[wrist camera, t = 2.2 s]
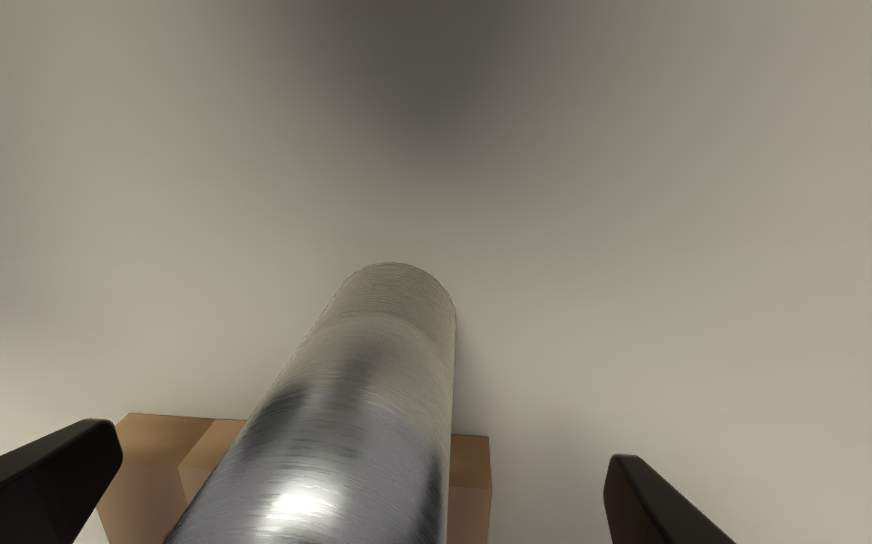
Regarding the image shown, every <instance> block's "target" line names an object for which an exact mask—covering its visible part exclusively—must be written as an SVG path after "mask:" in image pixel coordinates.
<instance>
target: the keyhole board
mask: <svg viewBox="0 0 872 544" xmlns="http://www.w3.org/2000/svg"><path fill="white" fill-rule="evenodd" d="M246 422H247V421H239V420H224V419H209V418H193V417H178V416H163V415H148V414H133V413H129V414H128V415H127V416H126V417H125V418H124V419H122V420H121V421H120V422H119V423H118V424H117V425H116V426H115V429H116V432H117V435H118V438H119V441H120V444H121V447H122V451H123V462H122V465H121V467H120V469H119V471H118V472H117V474H116V475H115V477H114V479H113V480H112V482H111V483H110V485H109V486H108V488H107V490H106V491H105V493H104V494H103V496H102V498H101V499H100V501H99V502H98V504H97V506H96V508H97V511H98V514H99V516H100V519H101V522H102V524H103V527H104V530H105V532H106V535H107V538H108V540H109V543H110V544H162V543H163V541H164V540H165V538H166V537H167V536H168V534H169V533H170V531H171V530H172V528H173V527H174V525H175V524H176V523H177V521H178V520H179V518H180V517H181V515H182V514H183V513H184V511H185V510H186V508H187V507H188V505H189V504H190V503H191V501H192V500H193V498H194V497H195V495H196V494H197V493H198V491H199V490H200V488H201V487H202V485H203V484H204V483H205V481H206V480H207V478H208V477H209V475H210V474H211V472H212V471H213V470H214V468H215V467H216V465H217V464H218V462H219V461H220V460H221V458H222V457H223V455H224V454H225V452H226V451H227V450H228V448H229V447H230V445H231V444H232V442H233V441H234V440H235V438H236V437H237V435H238V434H239V432H240V431H241V430H242V428H243V427H244V425H245V424H246ZM491 495H492V482H491V468H490V453H489V438H488V437H482V436H467V435H451V445H450V467H449V489H448V511H447V533H446V544H487V536H488V526H489V516H490V505H491Z"/></svg>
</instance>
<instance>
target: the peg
mask: <svg viewBox="0 0 872 544" xmlns="http://www.w3.org/2000/svg"><path fill="white" fill-rule="evenodd" d="M455 335H456V315H455V309H454V306H453V303H452V301H451V299H450V297H449V295H448V293H447V292H446V290H445V289H444V288H443V287H442V285H441V284H440V283H439V282H438V281H437V280H436V279H434V278H433V277H432V276H430V275H429V274H427V273H426V272H424V271H422V270H420V269H418V268H416V267H413V266H410V265H406V264H402V263H379V264H374V265H371V266H368V267H365V268H363V269H361V270H359V271H357V272H356V273H354V274H353V275H352V276H350V277H349V278H348V279H347V280H346V281H345V282H344V283H343V285H342V286H341V288H340V289H339V291H338V292H337V293H336V295H335V296H334V298H333V299H332V301H331V302H330V303H329V305H328V306H327V308H326V309H325V311H324V312H323V313H322V315H321V316H320V318H319V319H318V321H317V322H316V324H315V325H314V326H313V328H312V329H311V331H310V332H309V334H308V335H307V336H306V338H305V339H304V341H303V342H302V344H301V345H300V346H299V348H298V349H297V351H296V352H295V354H294V355H293V356H292V358H291V359H290V361H289V362H288V364H287V365H286V366H285V368H284V369H283V371H282V372H281V374H280V375H279V377H278V378H277V379H276V381H275V382H274V384H273V385H272V387H271V388H270V389H269V391H268V392H267V394H266V395H265V397H264V398H263V399H262V401H261V402H260V404H259V405H258V407H257V408H256V409H255V411H254V412H253V414H252V415H251V417H250V418H249V419H248V421H247V422H246V424H245V425H244V427H243V428H242V430H241V431H240V432H239V434H238V435H237V437H236V438H235V440H234V441H233V442H232V444H231V445H230V447H229V448H228V450H227V451H226V452H225V454H224V455H223V457H222V458H221V460H220V461H219V462H218V464H217V465H216V467H215V468H214V470H213V471H212V472H211V474H210V475H209V477H208V478H207V480H206V481H205V483H204V484H203V485H202V487H201V488H200V490H199V491H198V493H197V494H196V495H195V497H194V498H193V500H192V501H191V503H190V504H189V505H188V507H187V508H186V510H185V511H184V513H183V514H182V515H181V517H180V518H179V520H178V521H177V523H176V524H175V525H174V527H173V528H172V530H171V531H170V533H169V534H168V536H167V537H166V538H165V540H164V541H163V543H162V544H446V533H447V511H448V489H449V467H450V445H451V423H452V401H453V379H454V357H455Z"/></svg>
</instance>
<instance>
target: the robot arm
mask: <svg viewBox="0 0 872 544" xmlns="http://www.w3.org/2000/svg"><path fill="white" fill-rule="evenodd" d="M122 462H123V451H122V447H121V444H120V441H119V438H118V435H117V432H116V429H115V426H114V424H113V423H112V422H111V421H110V420H106V419H92V418H90V419H84V420H81V421H79V422H76V423H74V424H72V425H69V426H67V427H65V428H63V429H60V430H58V431H56V432H54V433H51V434H49V435H47V436H44V437H42V438H40V439H38V440H35V441H33V442H31V443H29V444H26V445H24V446H22V447H19V448H17V449H15V450H13V451H10V452H8V453H6V454H4V455H1V456H0V544H73V542H74V540H75V539H76V537H77V536H78V534H79V533H80V531H81V529H82V528H83V526H84V525H85V523H86V521H87V520H88V518H89V517H90V515H91V513H92V512H93V510H94V509H95V507H96V506H97V504H98V502H99V501H100V499H101V498H102V496H103V494H104V493H105V491H106V490H107V488H108V486H109V485H110V483H111V482H112V480H113V479H114V477H115V475H116V474H117V472H118V471H119V469H120V467H121V465H122ZM603 498H604V505H605V510H606V515H607V519H608V524H609V529H610V533H611V538H612V542H613V544H736V543H735V542H734V541H733V540H732V539H731V538H730V537H728V536H727V535H726V534H725V533H724V532H723V531H722V530H721V529H720V528H718V527H717V526H716V525H715V524H714V523H713V522H712V521H711V520H709V519H708V518H707V517H706V516H705V515H704V514H703V513H702V512H701V511H699V510H698V509H697V508H696V507H695V506H694V505H693V504H692V503H691V502H689V501H688V500H687V499H686V498H685V497H684V496H683V495H682V494H680V493H679V492H678V491H677V490H676V489H675V488H674V487H673V486H672V485H670V484H669V483H668V482H667V481H666V480H665V479H664V478H663V477H662V476H660V475H659V474H658V473H657V472H656V471H655V470H654V469H653V468H652V467H650V466H649V465H648V464H647V463H646V462H645V461H644V460H643V459H641V458H640V457H638V456H636V455H627V454H614V455H613V456H612V457H611V459H610V462H609V467H608V471H607V476H606V480H605V485H604V490H603Z"/></svg>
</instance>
